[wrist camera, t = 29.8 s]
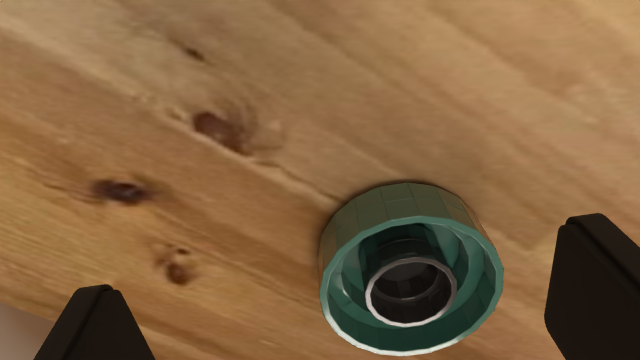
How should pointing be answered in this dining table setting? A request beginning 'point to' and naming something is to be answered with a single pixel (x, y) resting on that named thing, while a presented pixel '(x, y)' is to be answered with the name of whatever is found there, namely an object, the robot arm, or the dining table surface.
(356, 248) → the green bowl
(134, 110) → the dining table surface
